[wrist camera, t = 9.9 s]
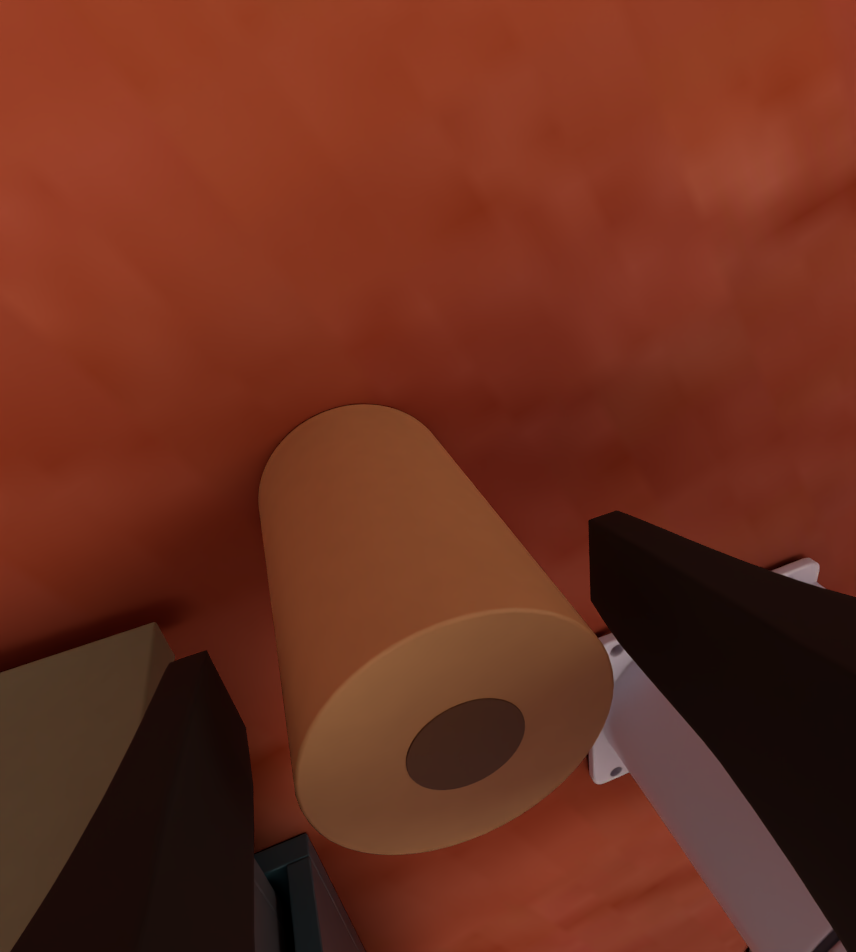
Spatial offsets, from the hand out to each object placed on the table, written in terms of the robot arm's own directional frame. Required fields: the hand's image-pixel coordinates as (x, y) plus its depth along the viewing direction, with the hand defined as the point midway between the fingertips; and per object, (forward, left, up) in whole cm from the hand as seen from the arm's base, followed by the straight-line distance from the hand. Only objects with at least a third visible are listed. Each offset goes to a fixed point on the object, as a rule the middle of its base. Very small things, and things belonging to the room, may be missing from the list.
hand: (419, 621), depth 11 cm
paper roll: (0, 0, -5) cm, 5 cm away
